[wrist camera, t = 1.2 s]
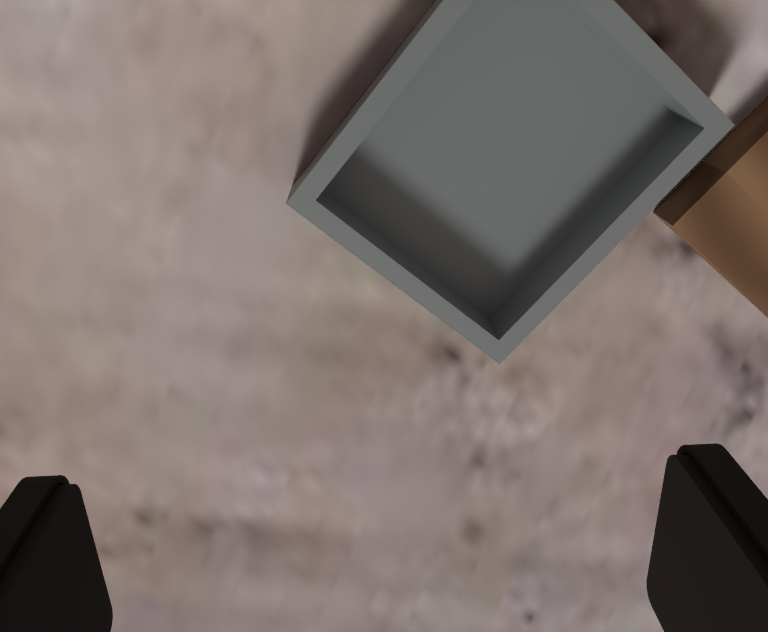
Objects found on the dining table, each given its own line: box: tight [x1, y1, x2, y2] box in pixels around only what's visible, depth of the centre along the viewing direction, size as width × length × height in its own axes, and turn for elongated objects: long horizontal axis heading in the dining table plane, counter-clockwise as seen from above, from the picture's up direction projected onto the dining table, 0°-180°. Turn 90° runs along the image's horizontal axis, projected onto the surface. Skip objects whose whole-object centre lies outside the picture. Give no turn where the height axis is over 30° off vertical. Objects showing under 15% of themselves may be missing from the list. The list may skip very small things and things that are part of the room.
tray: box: [286, 0, 735, 364], centre depth 34 cm, size 16×14×4 cm
